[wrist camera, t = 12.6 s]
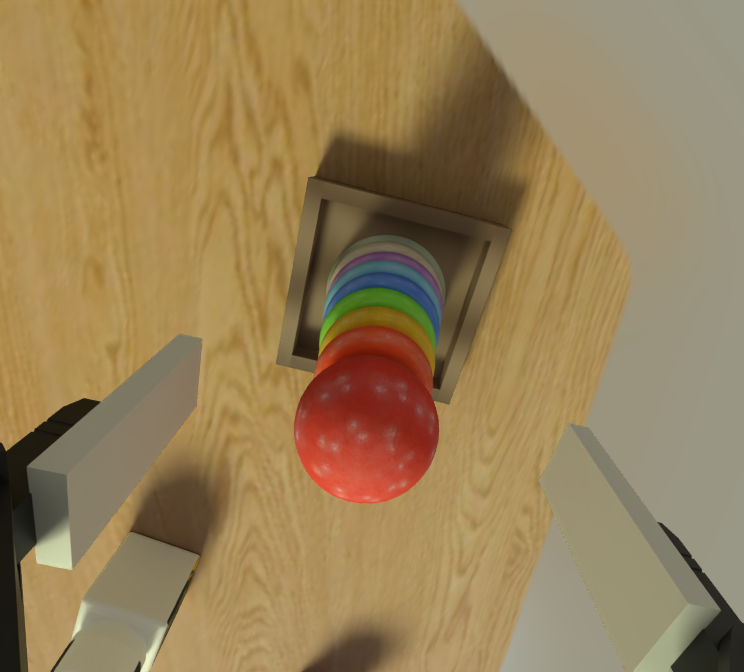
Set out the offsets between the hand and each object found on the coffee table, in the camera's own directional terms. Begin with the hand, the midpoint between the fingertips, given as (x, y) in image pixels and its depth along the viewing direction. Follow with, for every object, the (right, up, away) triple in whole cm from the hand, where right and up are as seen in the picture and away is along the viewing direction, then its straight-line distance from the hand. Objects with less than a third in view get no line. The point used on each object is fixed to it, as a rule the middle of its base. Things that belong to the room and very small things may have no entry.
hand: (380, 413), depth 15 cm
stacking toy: (+1, +6, +15) cm, 16 cm away
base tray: (+1, +6, +16) cm, 17 cm away
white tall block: (-22, -20, +28) cm, 40 cm away
